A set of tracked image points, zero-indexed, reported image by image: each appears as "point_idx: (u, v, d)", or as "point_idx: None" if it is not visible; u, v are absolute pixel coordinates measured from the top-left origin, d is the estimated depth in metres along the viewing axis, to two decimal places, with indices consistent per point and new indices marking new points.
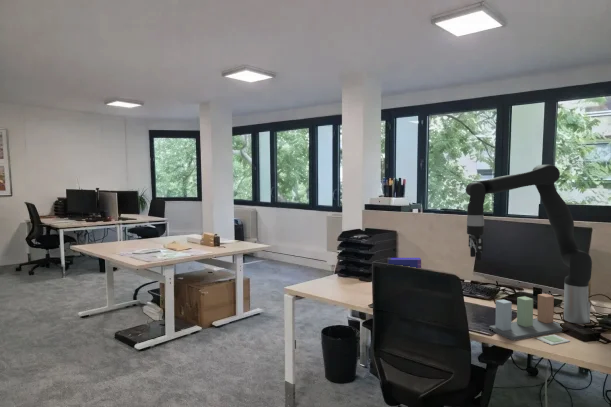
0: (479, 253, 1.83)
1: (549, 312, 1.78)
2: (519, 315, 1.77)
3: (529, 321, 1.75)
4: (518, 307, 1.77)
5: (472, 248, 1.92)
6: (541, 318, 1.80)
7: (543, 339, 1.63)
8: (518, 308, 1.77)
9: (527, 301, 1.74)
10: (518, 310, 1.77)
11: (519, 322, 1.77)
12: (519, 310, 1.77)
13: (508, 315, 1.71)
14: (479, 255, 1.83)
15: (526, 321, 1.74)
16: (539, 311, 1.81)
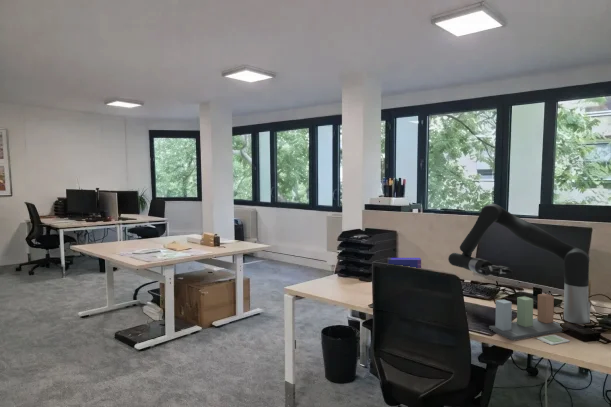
0: (491, 272, 1.87)
1: (549, 312, 1.78)
2: (519, 315, 1.77)
3: (529, 321, 1.75)
4: (518, 307, 1.77)
5: (505, 271, 1.91)
6: (541, 318, 1.80)
7: (543, 339, 1.63)
8: (518, 308, 1.77)
9: (527, 301, 1.74)
10: (518, 310, 1.77)
11: (519, 322, 1.77)
12: (519, 310, 1.77)
13: (508, 315, 1.71)
14: (493, 273, 1.86)
15: (526, 321, 1.74)
16: (539, 311, 1.81)
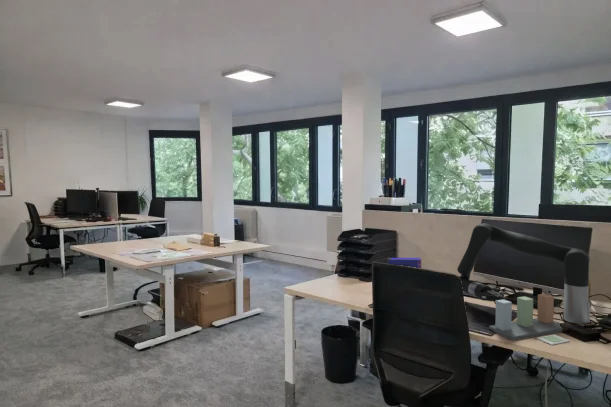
0: (498, 298, 1.89)
1: (549, 312, 1.78)
2: (519, 315, 1.77)
3: (529, 321, 1.75)
4: (518, 307, 1.77)
5: None
6: (541, 318, 1.80)
7: (543, 339, 1.63)
8: (518, 308, 1.77)
9: (527, 301, 1.74)
10: (518, 310, 1.77)
11: (519, 322, 1.77)
12: (519, 310, 1.77)
13: (508, 315, 1.71)
14: (500, 299, 1.88)
15: (526, 321, 1.74)
16: (539, 311, 1.81)
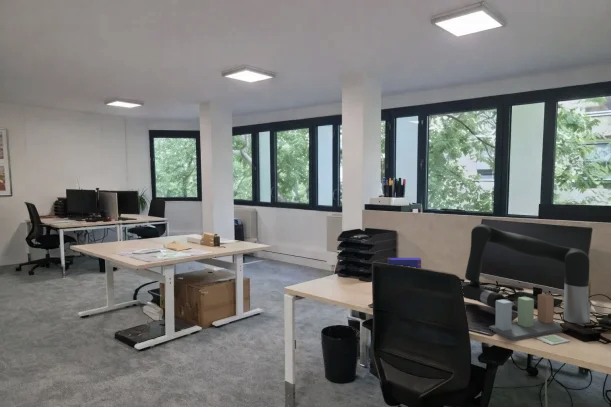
0: (513, 308, 1.81)
1: (549, 312, 1.78)
2: (519, 315, 1.76)
3: (530, 321, 1.74)
4: (519, 307, 1.76)
5: None
6: (541, 318, 1.80)
7: (543, 339, 1.63)
8: (518, 308, 1.77)
9: (528, 301, 1.73)
10: (519, 310, 1.77)
11: (520, 322, 1.76)
12: (519, 310, 1.76)
13: (508, 315, 1.71)
14: (514, 308, 1.80)
15: (527, 321, 1.74)
16: (539, 311, 1.81)
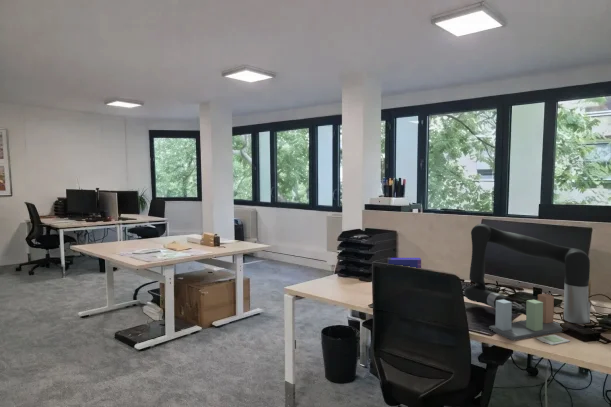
0: (521, 311, 1.76)
1: (549, 312, 1.78)
2: (528, 319, 1.72)
3: (539, 325, 1.70)
4: (528, 310, 1.72)
5: None
6: None
7: (543, 339, 1.63)
8: (527, 311, 1.73)
9: (537, 304, 1.69)
10: (527, 314, 1.72)
11: (528, 326, 1.72)
12: (528, 314, 1.72)
13: (508, 315, 1.71)
14: (523, 311, 1.76)
15: (536, 325, 1.69)
16: None
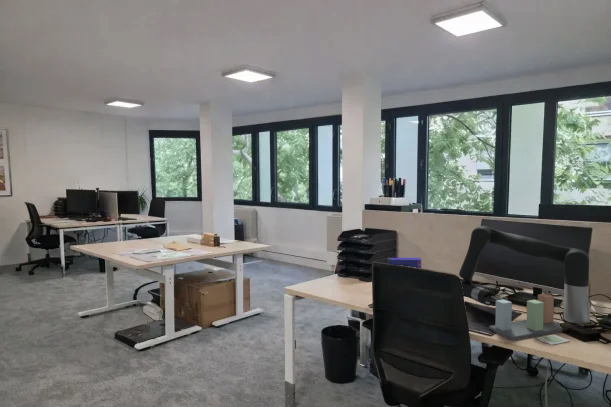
0: None
1: (549, 312, 1.78)
2: (529, 319, 1.72)
3: (539, 325, 1.70)
4: (528, 310, 1.72)
5: None
6: None
7: (543, 339, 1.63)
8: (527, 311, 1.72)
9: (537, 305, 1.69)
10: (528, 314, 1.72)
11: (529, 326, 1.72)
12: (528, 314, 1.72)
13: (508, 315, 1.71)
14: None
15: (536, 325, 1.69)
16: None
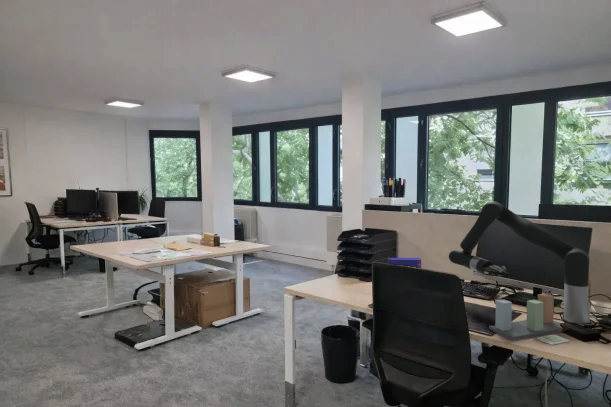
0: (501, 273, 1.87)
1: (549, 312, 1.78)
2: (529, 319, 1.72)
3: (539, 325, 1.70)
4: (528, 310, 1.72)
5: None
6: None
7: (543, 339, 1.63)
8: (527, 311, 1.72)
9: (537, 305, 1.69)
10: (528, 314, 1.72)
11: (529, 326, 1.72)
12: (528, 314, 1.72)
13: (508, 315, 1.71)
14: (502, 274, 1.86)
15: (536, 325, 1.69)
16: None
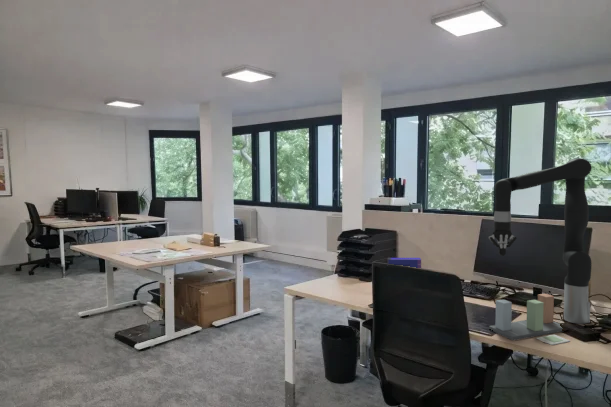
0: (499, 248, 1.94)
1: (549, 312, 1.78)
2: (529, 319, 1.72)
3: (539, 325, 1.70)
4: (528, 310, 1.72)
5: None
6: None
7: (543, 339, 1.63)
8: (527, 311, 1.72)
9: (537, 305, 1.69)
10: (528, 314, 1.72)
11: (529, 326, 1.72)
12: (528, 314, 1.72)
13: (508, 315, 1.71)
14: (499, 250, 1.94)
15: (536, 325, 1.69)
16: None
